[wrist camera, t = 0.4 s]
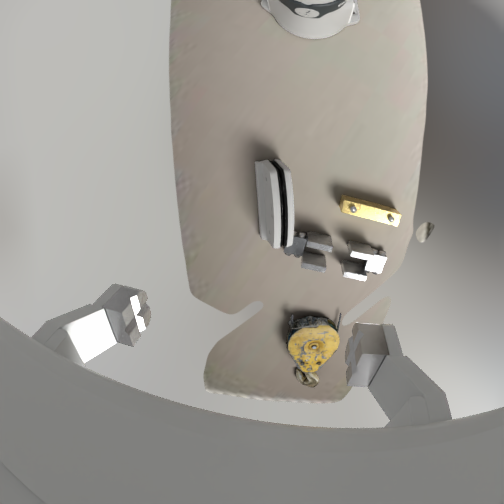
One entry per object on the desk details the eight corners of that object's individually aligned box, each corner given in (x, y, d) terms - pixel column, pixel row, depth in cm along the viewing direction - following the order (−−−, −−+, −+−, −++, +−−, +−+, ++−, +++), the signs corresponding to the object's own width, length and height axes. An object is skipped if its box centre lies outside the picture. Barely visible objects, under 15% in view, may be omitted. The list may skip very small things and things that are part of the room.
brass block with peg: (341, 194, 51) (345, 201, 47) (395, 208, 50) (402, 216, 45) (339, 205, 52) (341, 213, 48) (392, 219, 51) (398, 227, 47)
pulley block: (282, 393, 74) (289, 323, 60) (281, 379, 79) (287, 307, 65) (327, 391, 73) (348, 320, 59) (324, 376, 78) (342, 305, 65)
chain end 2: (348, 240, 55) (352, 251, 50) (386, 249, 54) (392, 260, 49) (340, 264, 58) (343, 276, 53) (377, 272, 57) (381, 284, 52)
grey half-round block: (254, 159, 51) (264, 166, 42) (278, 157, 51) (293, 164, 42) (260, 237, 58) (270, 259, 50) (281, 234, 59) (295, 255, 50)
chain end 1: (289, 226, 56) (287, 236, 52) (330, 236, 55) (332, 246, 51) (283, 251, 59) (281, 263, 55) (323, 260, 58) (324, 272, 54)
